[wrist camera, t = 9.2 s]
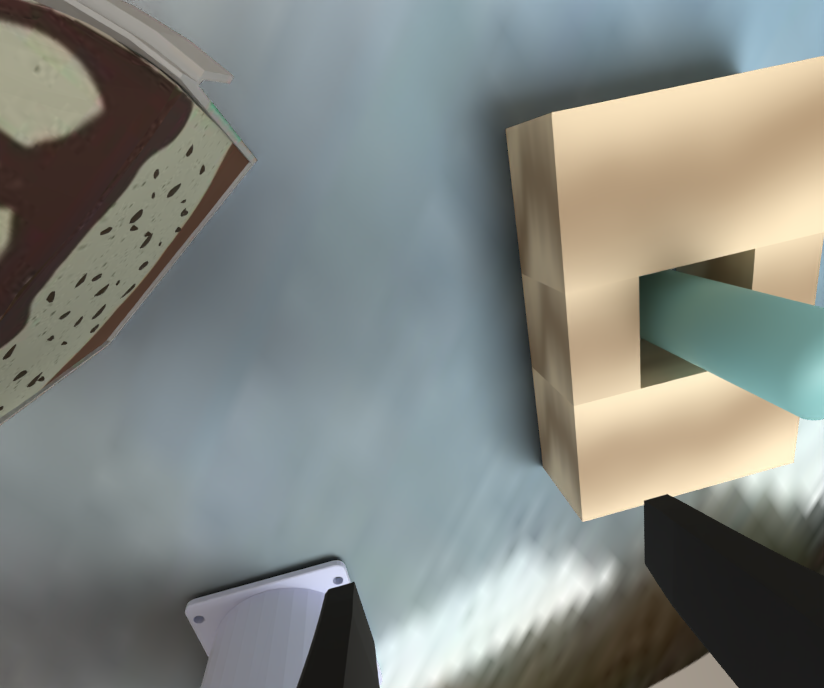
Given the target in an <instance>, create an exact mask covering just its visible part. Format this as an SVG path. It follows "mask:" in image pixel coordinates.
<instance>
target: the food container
mask: <svg viewBox="0 0 824 688" xmlns="http://www.w3.org/2000/svg"><path fill="white" fill-rule="evenodd" d="M233 78H234V76H233V75H232V74H231V73H229V72H228V71H227V70H226V69H224V68H223V67H222V66H221V65H219V64H218V63H217V62H216V61H215V60H213V59H212V58H211V57H210V56H208V55H207V54H206V53H205V52H203V51H202V50H201V49H200V48H198V47H197V46H196V45H195V44H194V43H192V42H191V41H190V40H188V39H187V38H185V37H183V36H182V35H180V34H179V33H177V32H175V31H174V30H172V29H171V28H169V27H167V26H166V25H164V24H162V23H161V22H159V21H158V20H156V19H154V18H153V17H151V16H149V15H148V14H146V13H145V12H143V11H141V10H140V9H138V8H137V7H135V6H132V5H130V4H128V3H126V2H123V1H121V0H0V425H2V424H3V423H4V422H6V421H7V420H9V419H10V418H11V417H13V416H14V415H15V414H17V413H18V412H19V411H21V410H22V409H23V408H25V407H26V406H27V405H29V404H30V403H31V402H33V401H34V400H35V399H37V398H38V397H39V396H41V395H42V394H43V393H45V392H46V391H48V390H49V389H50V388H52V387H53V386H54V385H56V384H57V383H58V382H60V381H61V380H62V379H64V378H65V377H66V376H68V375H69V374H70V373H72V372H73V371H74V370H76V369H77V368H78V367H80V366H81V365H82V364H84V363H85V362H87V361H88V360H89V359H91V358H92V357H93V356H95V355H96V354H97V353H99V352H100V351H101V350H103V349H104V348H105V347H107V346H108V345H109V344H110V343H111V342H112V341H113V339H114V338H115V337H116V336H117V334H118V333H119V332H120V331H121V330H122V328H123V327H124V326H125V325H126V323H127V322H128V321H129V320H130V318H131V317H132V316H133V315H134V313H135V312H136V311H137V310H138V308H139V307H140V306H141V305H142V303H143V302H144V301H145V300H146V298H147V297H148V296H149V295H150V293H151V292H152V291H153V290H154V288H155V287H156V286H157V285H158V283H159V282H160V281H161V280H162V278H163V277H164V276H165V275H166V273H167V272H168V271H169V270H170V268H171V267H172V266H173V265H174V264H175V262H176V261H177V260H178V259H179V257H180V256H181V255H182V254H183V252H184V251H185V250H186V249H187V247H188V246H189V245H190V244H191V242H192V241H193V240H194V239H195V237H196V236H197V235H198V234H199V232H200V231H201V230H202V229H203V227H204V226H205V225H206V224H207V222H208V221H209V220H210V219H211V217H212V216H213V215H214V214H215V212H216V211H217V210H218V209H219V207H220V206H221V205H222V204H223V202H224V201H225V200H226V199H227V197H228V196H229V195H230V194H231V193H232V191H233V190H234V189H235V188H236V186H237V185H238V184H239V183H240V181H241V180H242V179H243V178H244V176H245V175H246V174H247V173H248V171H249V170H250V169H251V168H252V166H253V165H254V164H255V163H256V161H257V159H256V158H255V157H254V155H253V154H252V153H251V152H250V150H249V149H248V148H247V147H246V145H245V144H244V143H243V141H242V140H241V139H240V138H239V136H238V135H237V134H236V133H235V131H234V130H233V129H232V128H231V126H230V125H229V124H228V122H227V121H226V120H225V119H224V117H223V116H222V115H221V114H220V112H219V111H218V110H217V108H216V107H215V106H214V105H213V103H212V102H211V101H210V100H209V98H208V97H207V96H206V94H205V93H204V92H203V91H202V89H201V88H200V87H199V85H200V84H201V82H202V81H203V80H207V81H214V82H222V83H229V84H230V82H231V81H232V79H233Z"/></svg>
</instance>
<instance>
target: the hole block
mask: <svg viewBox="0 0 824 688" xmlns="http://www.w3.org/2000/svg"><path fill="white" fill-rule="evenodd" d="M506 138H507V147H508V156H509V165H510V174H511V183H512V192H513V201H514V210H515V219H516V228H517V237H518V246H519V255H520V264H521V273H522V282H523V291H524V300H525V309H526V318H527V327H528V336H529V345H530V354H531V363H532V372H533V381H534V390H535V399H536V408H537V417H538V426H539V435H540V444H541V453H542V463H543V468H544V469H545V471H546V472H547V473H548V475H549V476H550V478H551V479H552V480H553V482H554V483H555V484H556V486H557V487H558V489H559V490H560V491H561V493H562V494H563V495H564V497H565V498H566V500H567V501H568V502H569V504H570V505H571V507H572V508H573V509H574V511H575V512H576V513H577V515H578V516H579V518H580V519H581V520H582V522H584V521H588V520H591V519H595V518H598V517H602V516H606V515H609V514H613V513H616V512H620V511H623V510H627V509H630V508H634V507H638V506H641V505H644V500H648V499H652V498H655V497H659V496H662V495H666V494H668V495H670V496H672V497H673V496H677V495H680V494H684V493H687V492H691V491H694V490H698V489H702V488H705V487H709V486H712V485H716V484H719V483H723V482H726V481H730V480H734V479H737V478H741V477H744V476H748V475H751V474H755V473H758V472H762V471H766V470H769V469H773V468H776V467H780V466H783V465H787V464H790V463H794V455H795V448H796V440H797V433H798V425H799V418H800V417H798V416H796V415H794V414H792V413H790V412H788V411H786V410H784V409H782V408H780V407H778V406H776V405H774V404H772V403H770V402H768V401H766V400H764V399H762V398H760V397H758V396H756V395H754V394H752V393H750V392H748V391H746V390H744V389H742V388H740V387H738V386H736V385H734V384H732V383H730V382H728V381H726V380H724V379H722V378H720V377H718V376H716V375H714V374H712V373H710V372H708V371H706V370H704V369H702V368H700V367H698V366H696V365H694V364H692V363H690V362H688V361H686V360H684V359H682V358H680V357H678V356H676V355H674V354H672V353H670V352H668V351H666V350H664V349H662V348H660V347H658V346H656V345H654V344H652V343H650V342H648V341H646V340H644V339H641V340H640V313H639V276H643V275H647V274H652V273H656V272H660V271H664V270H668V269H672V268H676V271H678V272H682V273H686V274H690V275H694V276H698V277H702V278H706V279H710V280H714V281H718V282H722V283H726V284H730V285H734V286H738V287H742V288H746V289H750V290H754V291H758V292H762V293H766V294H770V295H774V296H778V297H782V298H786V299H790V300H794V301H798V302H802V303H806V304H810V305H815V298H816V290H817V283H818V275H819V268H820V260H821V253H822V245H823V238H824V56H821V57H816V58H812V59H807V60H802V61H797V62H792V63H787V64H783V65H778V66H773V67H768V68H763V69H759V70H754V71H749V72H744V73H739V74H735V75H730V76H725V77H720V78H715V79H710V80H706V81H701V82H696V83H691V84H686V85H682V86H677V87H672V88H667V89H662V90H658V91H653V92H648V93H643V94H638V95H633V96H629V97H624V98H619V99H614V100H609V101H605V102H600V103H595V104H590V105H585V106H581V107H576V108H571V109H566V110H561V111H556V112H552V113H549V114H546V115H543V116H540V117H538V118H535V119H532V120H529V121H526V122H523V123H521V124H518V125H515V126H512V127H509V128H507V129H506Z"/></svg>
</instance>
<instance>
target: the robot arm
mask: <svg viewBox="0 0 824 688" xmlns="http://www.w3.org/2000/svg"><path fill="white" fill-rule="evenodd" d="M644 539H645V564H646V566H647V567H648V569H649V571H650V572H651V574H652V575H653V577H654V579H655V580H656V582H657V583H658V585H659V586H660V588H661V589H662V591H663V592H664V594H665V595H666V597H667V598H668V600H669V601H670V603H671V604H672V606H673V607H674V608H675V610H676V611H677V612H678V613H679V615H680V616H681V617H682V619H683V620H684V621H685V622H686V623H687V625H688V626H689V627H690V628H691V630H692V631H693V632H694V633H695V635H696V636H697V637H698V638H699V640H700V641H701V642H702V643H703V645H704V646H705V647H706V648H707V649H708V651H709V652H710V653H711V654H712V655H713V657H714V658H715V659H716V661H717V662H718V663H719V664H720V665H721V667H722V668H723V669H724V670H725V671H726V673H727V674H728V675H729V676H730V677H731V679H732V680H733V681H734V683H735V684H736V685H737V686H738V687H739V688H824V576H823V575H821V574H819V573H817V572H815V571H812V570H810V569H808V568H806V567H804V566H802V565H800V564H798V563H796V562H794V561H792V560H790V559H788V558H786V557H784V556H782V555H780V554H778V553H776V552H774V551H772V550H770V549H768V548H766V547H765V546H763V545H761V544H759V543H757V542H755V541H753V540H751V539H749V538H748V537H746V536H744V535H742V534H740V533H738V532H736V531H734V530H733V529H731V528H729V527H727V526H725V525H723V524H722V523H720V522H718V521H716V520H714V519H712V518H711V517H709V516H707V515H705V514H703V513H702V512H700V511H698V510H696V509H694V508H692V507H691V506H689V505H687V504H685V503H683V502H681V501H680V500H678V499H676V498H674V497H672V496H670V495H668V494H666V495H662V496H659V497H655V498H652V499H648V500H644ZM335 577H341V578H335ZM185 615H186V616H187V618H188V620H189V622H190V624H191V626H192V628H193V629H194V631H195V633H196V635H197V637H198V639H199V641H200V642H201V644H202V646H203V648H204V650H205V652H206V654H207V656H208V657H209V659H208V663H207V666H206V670H205V674H204V677H203V681H202V684H201V688H380V687H379V685H381V683H382V673H381V670H380V667H379V664H378V661H377V658H376V652H375V644H374V640H373V637H372V634H371V631H370V628H369V625H368V622H367V619H366V616H365V613H364V610H363V607H362V604H361V601H360V598H359V595H358V592H357V589H356V586H355V583H354V582H352V583H351V581H350V578H349V575H348V572H347V569H346V566H345V564H344V563H343V562H342V561H339V560H334V561H330V562H326V563H323V564H319V565H315V566H312V567H308V568H304V569H301V570H297V571H294V572H290V573H286V574H283V575H279V576H275V577H272V578H268V579H265V580H261V581H257V582H254V583H250V584H247V585H243V586H239V587H236V588H232V589H228V590H225V591H221V592H218V593H214V594H210V595H207V596H203V597H199V598H196V599H193V600H191V601H189V602H188V604H187V606H186V609H185Z"/></svg>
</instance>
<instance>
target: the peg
mask: <svg viewBox="0 0 824 688" xmlns="http://www.w3.org/2000/svg"><path fill="white" fill-rule="evenodd" d="M639 313H640V338H642V339H644V340H646V341H648V342H650V343H652V344H654V345H656V346H658V347H660V348H662V349H664V350H666V351H668V352H670V353H672V354H674V355H676V356H678V357H680V358H682V359H684V360H686V361H688V362H690V363H692V364H694V365H696V366H698V367H700V368H702V369H704V370H706V371H708V372H710V373H712V374H714V375H716V376H718V377H720V378H722V379H724V380H726V381H728V382H730V383H732V384H734V385H736V386H738V387H740V388H742V389H744V390H746V391H748V392H750V393H752V394H754V395H756V396H758V397H760V398H762V399H764V400H766V401H768V402H770V403H772V404H774V405H776V406H778V407H780V408H782V409H784V410H786V411H788V412H790V413H792V414H794V415H796V416H798V417H800V418H803V419H807V420H822V419H824V308H822V307H818V306H814V305H810V304H806V303H802V302H798V301H794V300H790V299H786V298H782V297H778V296H774V295H770V294H766V293H762V292H758V291H754V290H750V289H746V288H742V287H738V286H734V285H730V284H726V283H722V282H718V281H714V280H710V279H706V278H702V277H698V276H694V275H690V274H686V273H682V272H678V271H674V270H670V269H668V270H664V271H660V272H656V273H652V274H647V275H643V276H639Z"/></svg>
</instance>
